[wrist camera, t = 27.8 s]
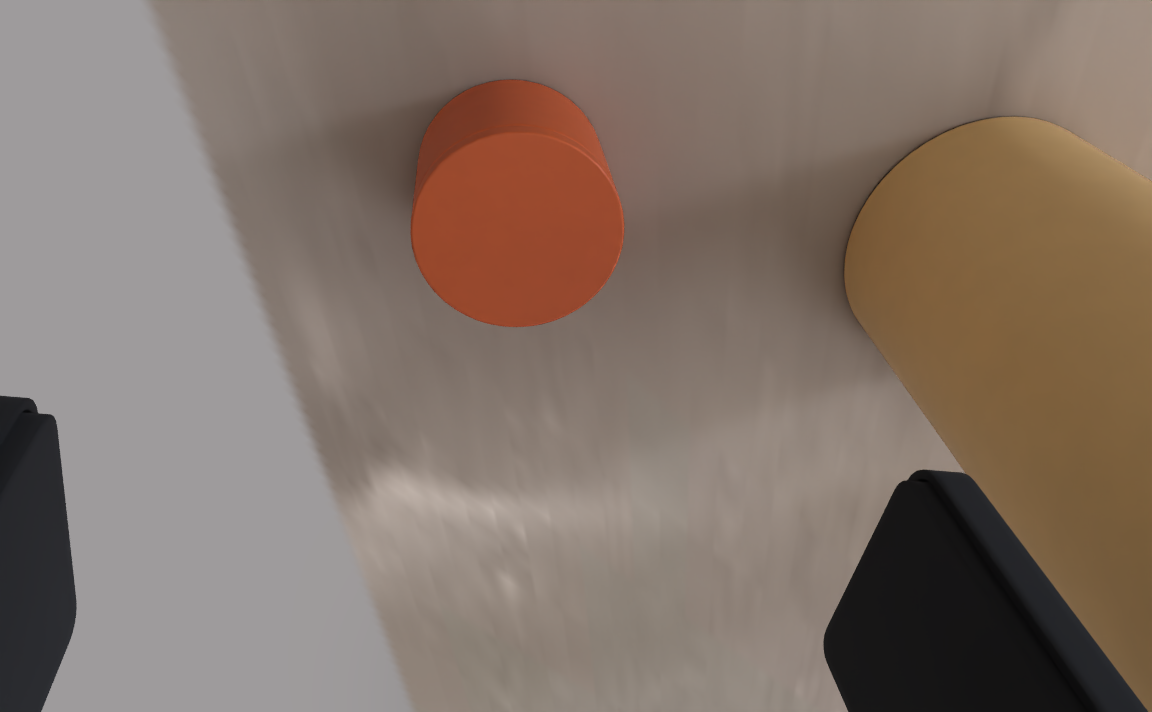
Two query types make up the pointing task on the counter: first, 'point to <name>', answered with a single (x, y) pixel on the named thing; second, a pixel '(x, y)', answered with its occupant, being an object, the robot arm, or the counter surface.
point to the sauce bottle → (1029, 348)
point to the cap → (514, 206)
